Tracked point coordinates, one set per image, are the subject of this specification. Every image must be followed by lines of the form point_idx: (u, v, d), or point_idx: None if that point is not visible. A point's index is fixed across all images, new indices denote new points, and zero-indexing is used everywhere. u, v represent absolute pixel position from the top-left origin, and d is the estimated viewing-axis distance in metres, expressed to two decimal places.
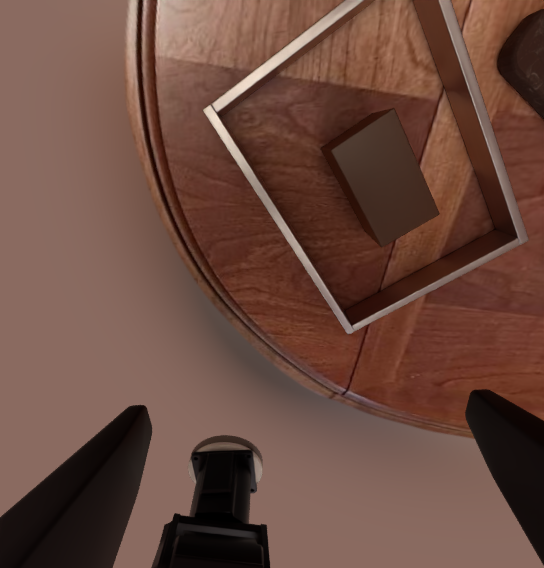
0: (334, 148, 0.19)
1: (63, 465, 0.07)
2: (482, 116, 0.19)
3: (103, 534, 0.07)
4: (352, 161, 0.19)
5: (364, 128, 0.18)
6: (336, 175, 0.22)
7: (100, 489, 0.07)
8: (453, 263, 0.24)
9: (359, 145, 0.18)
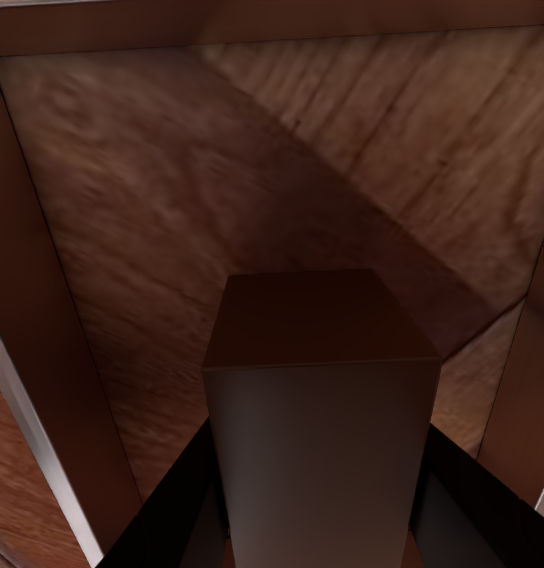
0: (215, 369, 0.05)
1: (179, 460, 0.07)
2: None
3: (219, 529, 0.07)
4: (252, 422, 0.06)
5: (331, 363, 0.05)
6: None
7: (217, 484, 0.07)
8: None
9: (294, 397, 0.06)
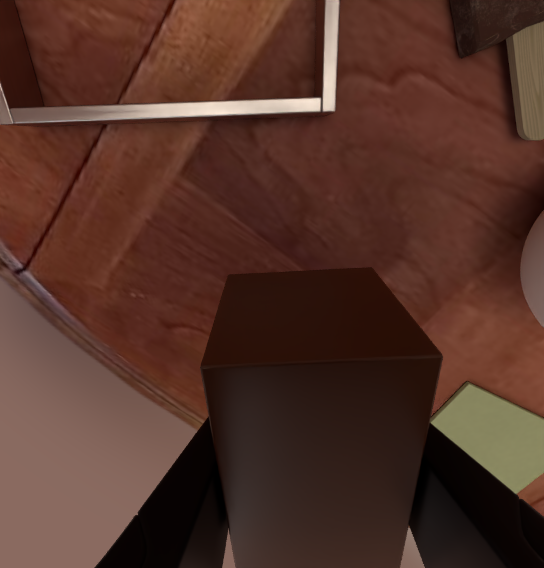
0: (214, 367, 0.05)
1: (179, 460, 0.07)
2: None
3: (219, 529, 0.07)
4: (251, 420, 0.06)
5: (331, 361, 0.05)
6: None
7: (217, 484, 0.07)
8: None
9: (293, 394, 0.06)
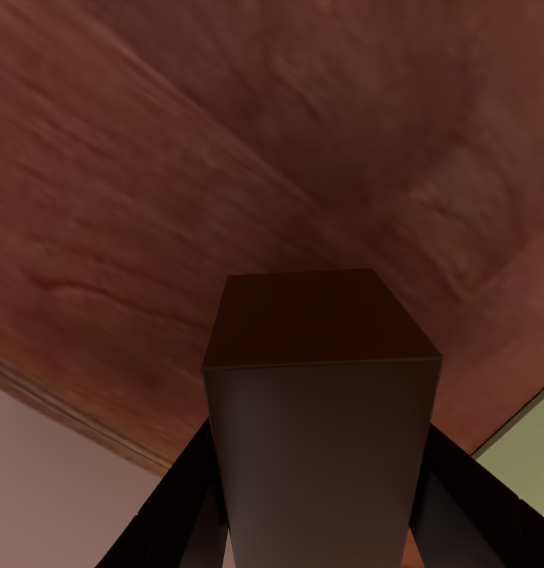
0: (215, 369, 0.05)
1: (179, 460, 0.07)
2: None
3: (219, 528, 0.07)
4: (252, 422, 0.06)
5: (331, 363, 0.05)
6: None
7: (217, 484, 0.07)
8: None
9: (294, 396, 0.06)
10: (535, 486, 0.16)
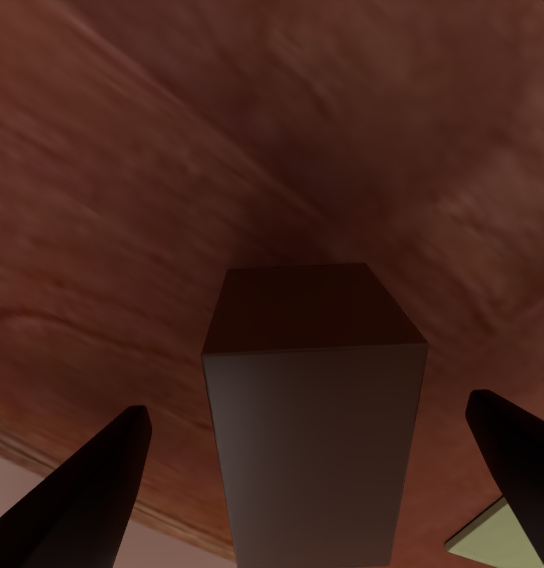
0: (214, 355, 0.06)
1: (63, 465, 0.07)
2: None
3: (103, 534, 0.07)
4: (249, 406, 0.06)
5: (324, 349, 0.06)
6: None
7: (100, 489, 0.07)
8: None
9: (289, 380, 0.06)
10: None
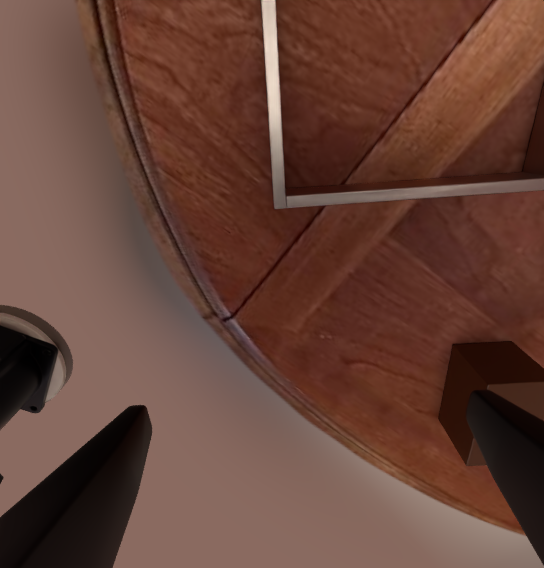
0: (492, 384, 0.19)
1: (63, 465, 0.07)
2: None
3: (103, 533, 0.07)
4: None
5: (525, 382, 0.19)
6: (455, 376, 0.22)
7: (100, 489, 0.07)
8: (459, 180, 0.16)
9: (512, 392, 0.19)
10: None
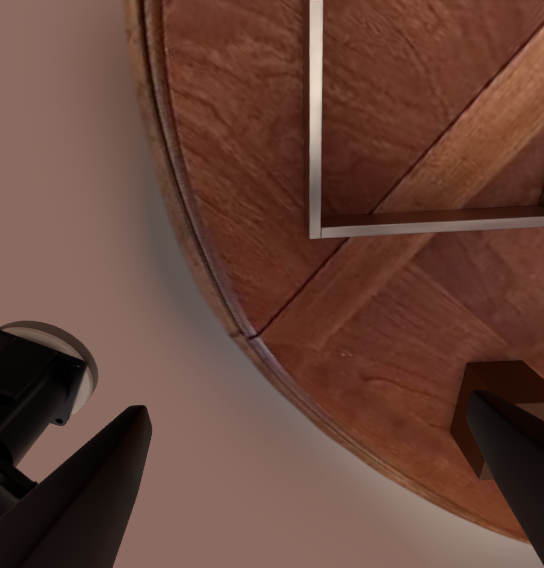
0: None
1: (63, 465, 0.07)
2: None
3: (103, 533, 0.07)
4: None
5: (538, 403, 0.20)
6: (468, 393, 0.23)
7: (100, 489, 0.07)
8: (482, 214, 0.17)
9: None
10: None
